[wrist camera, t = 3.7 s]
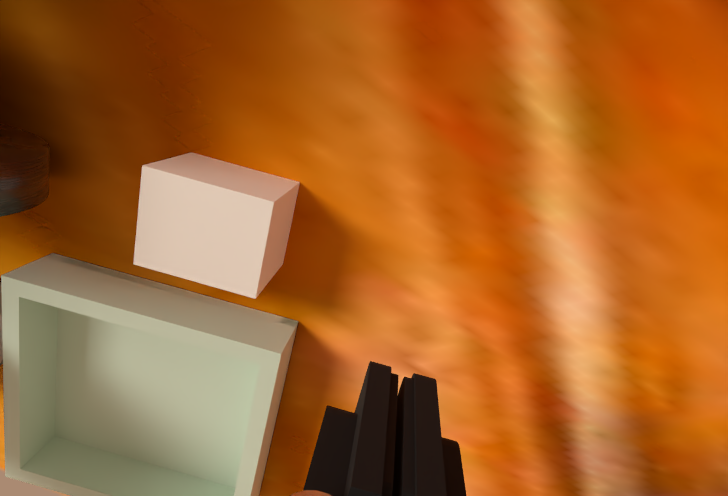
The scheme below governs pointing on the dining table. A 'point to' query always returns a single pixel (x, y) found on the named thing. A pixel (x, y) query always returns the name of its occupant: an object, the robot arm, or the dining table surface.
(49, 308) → the tray
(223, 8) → the dining table surface
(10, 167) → the trolley
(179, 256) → the white block
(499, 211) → the dining table surface
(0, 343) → the travel mug
